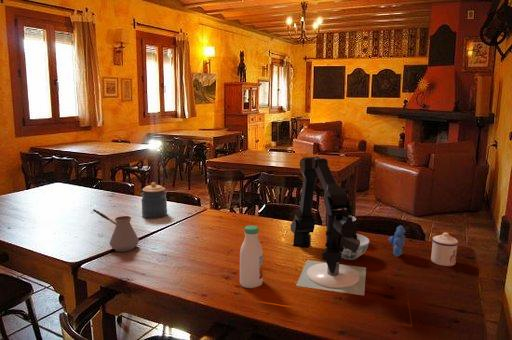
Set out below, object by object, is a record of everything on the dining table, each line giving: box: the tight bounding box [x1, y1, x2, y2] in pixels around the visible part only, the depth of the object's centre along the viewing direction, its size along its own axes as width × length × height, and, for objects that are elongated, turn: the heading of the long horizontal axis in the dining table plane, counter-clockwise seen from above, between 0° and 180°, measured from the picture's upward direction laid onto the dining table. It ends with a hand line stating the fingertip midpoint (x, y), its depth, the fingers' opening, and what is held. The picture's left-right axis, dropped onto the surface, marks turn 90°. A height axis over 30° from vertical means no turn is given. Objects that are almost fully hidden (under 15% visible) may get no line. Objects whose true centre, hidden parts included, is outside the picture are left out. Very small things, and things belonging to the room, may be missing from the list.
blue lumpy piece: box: [387, 225, 407, 258], centre depth 163 cm, size 12×7×12 cm, turn 152°
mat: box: [295, 259, 367, 296], centre depth 143 cm, size 22×22×1 cm
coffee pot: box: [90, 208, 140, 253], centre depth 169 cm, size 21×12×15 cm, turn 69°
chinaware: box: [342, 233, 370, 261], centre depth 160 cm, size 15×15×8 cm
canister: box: [140, 181, 168, 219], centre depth 212 cm, size 13×13×18 cm
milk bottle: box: [239, 225, 264, 289], centre depth 136 cm, size 8×8×20 cm
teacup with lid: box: [430, 232, 459, 267], centre depth 158 cm, size 12×9×12 cm
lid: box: [307, 262, 359, 288], centre depth 143 cm, size 18×18×5 cm
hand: (333, 270), depth 143 cm, fingers closed on lid, 4 cm apart
